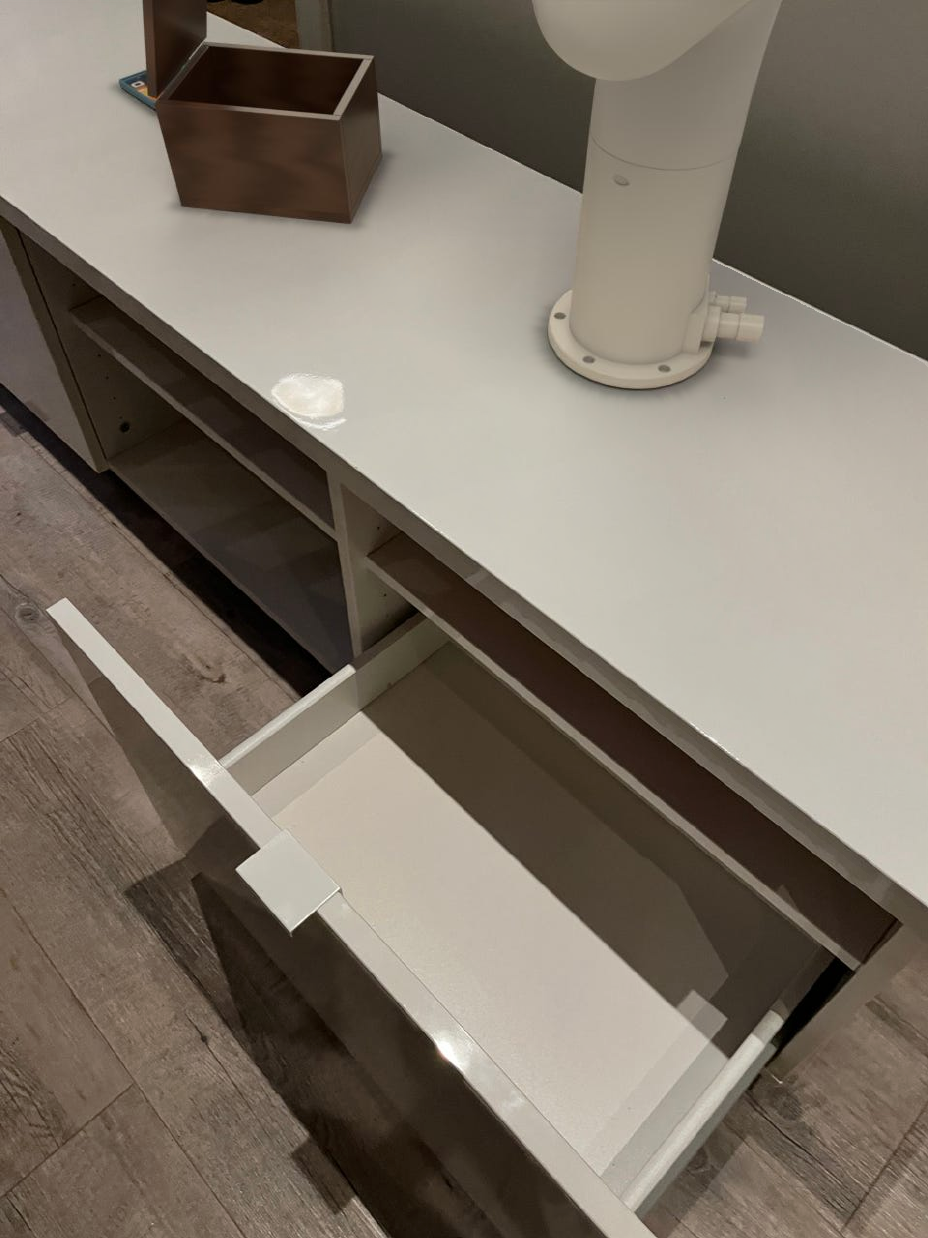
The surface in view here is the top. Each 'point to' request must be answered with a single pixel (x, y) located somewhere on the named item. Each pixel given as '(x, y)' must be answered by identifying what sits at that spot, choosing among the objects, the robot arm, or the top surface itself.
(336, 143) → the chest
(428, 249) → the top surface
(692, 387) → the top surface
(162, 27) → the lid
